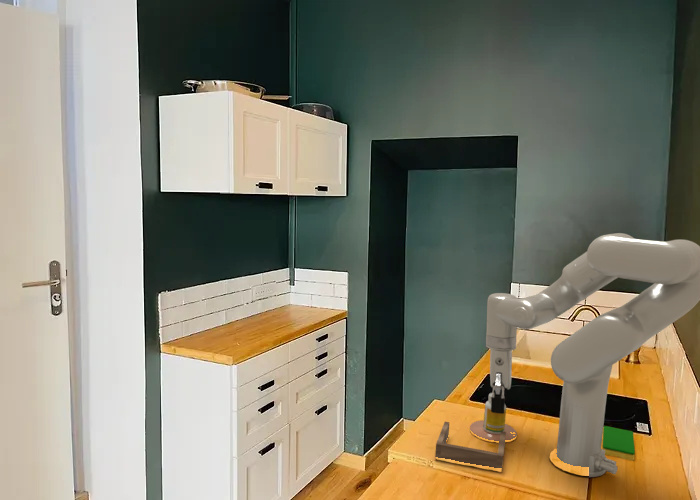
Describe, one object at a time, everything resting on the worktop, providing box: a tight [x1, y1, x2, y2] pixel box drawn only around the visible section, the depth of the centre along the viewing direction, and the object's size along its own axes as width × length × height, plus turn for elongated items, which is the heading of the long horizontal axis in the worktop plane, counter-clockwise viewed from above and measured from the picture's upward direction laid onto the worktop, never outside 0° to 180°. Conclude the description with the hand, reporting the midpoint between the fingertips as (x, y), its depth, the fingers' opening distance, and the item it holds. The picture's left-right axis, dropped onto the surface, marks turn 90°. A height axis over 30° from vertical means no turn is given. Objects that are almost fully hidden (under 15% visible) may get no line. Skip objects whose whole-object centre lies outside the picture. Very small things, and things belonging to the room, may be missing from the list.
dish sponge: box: [601, 425, 636, 461], centre depth 143 cm, size 7×14×2 cm, turn 155°
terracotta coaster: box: [469, 419, 518, 441], centre depth 148 cm, size 12×12×1 cm
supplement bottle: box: [483, 392, 507, 434], centre depth 147 cm, size 5×5×10 cm
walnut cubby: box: [434, 421, 506, 469], centre depth 136 cm, size 13×15×4 cm
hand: (498, 405), depth 146 cm, fingers open, 9 cm apart
